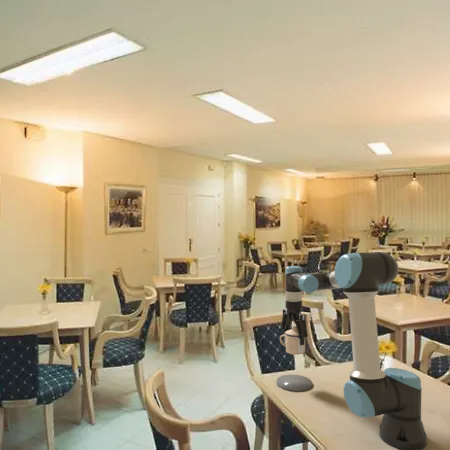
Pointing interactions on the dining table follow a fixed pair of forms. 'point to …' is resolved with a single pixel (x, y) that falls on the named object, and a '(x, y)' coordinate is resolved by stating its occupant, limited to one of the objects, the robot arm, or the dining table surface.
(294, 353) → the teacup with lid
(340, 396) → the dining table surface
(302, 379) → the pad
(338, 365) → the dining table surface
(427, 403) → the dining table surface
